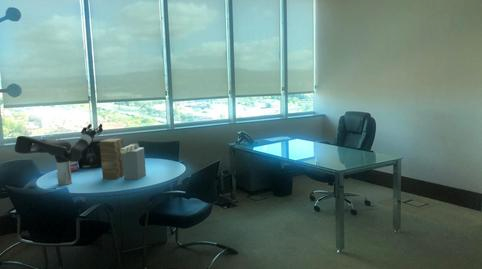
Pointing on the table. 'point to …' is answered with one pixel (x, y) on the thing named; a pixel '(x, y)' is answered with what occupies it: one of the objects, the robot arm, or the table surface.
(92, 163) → the headset box
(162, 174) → the table surface
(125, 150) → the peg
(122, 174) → the tall stand
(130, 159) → the light grey box
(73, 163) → the candy bar box
